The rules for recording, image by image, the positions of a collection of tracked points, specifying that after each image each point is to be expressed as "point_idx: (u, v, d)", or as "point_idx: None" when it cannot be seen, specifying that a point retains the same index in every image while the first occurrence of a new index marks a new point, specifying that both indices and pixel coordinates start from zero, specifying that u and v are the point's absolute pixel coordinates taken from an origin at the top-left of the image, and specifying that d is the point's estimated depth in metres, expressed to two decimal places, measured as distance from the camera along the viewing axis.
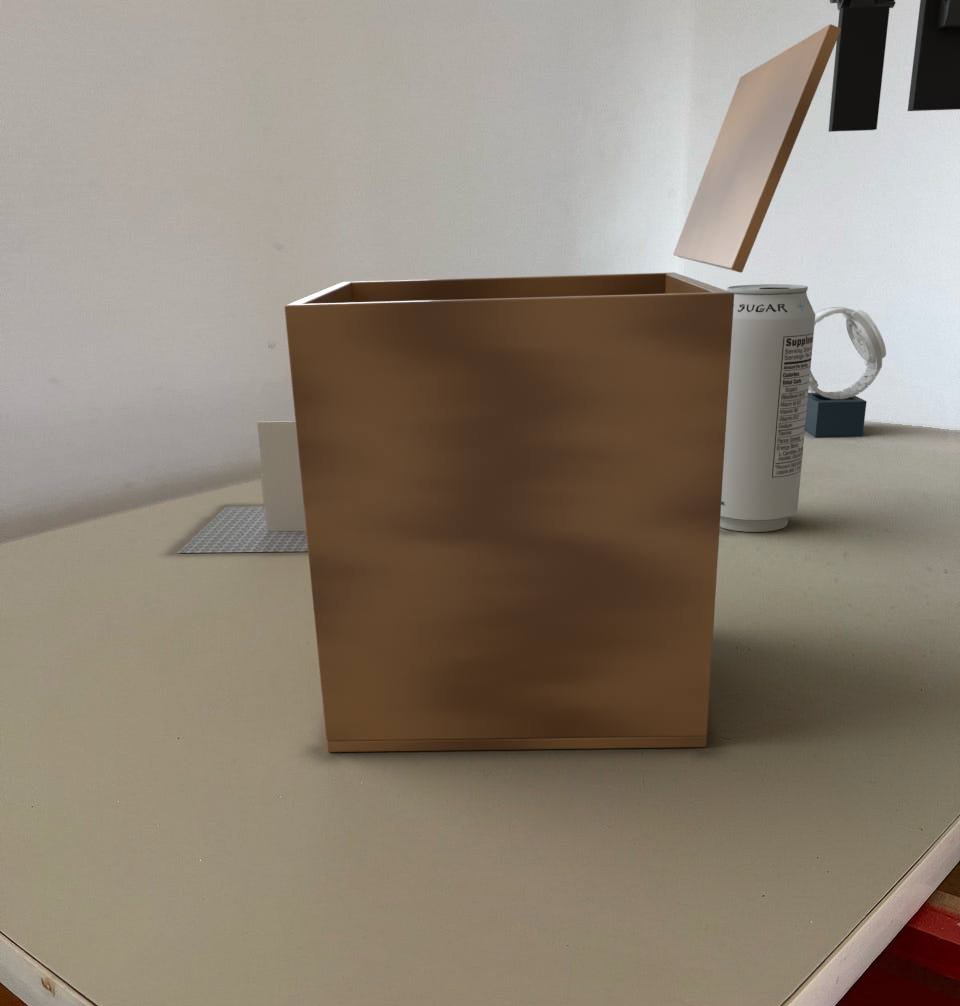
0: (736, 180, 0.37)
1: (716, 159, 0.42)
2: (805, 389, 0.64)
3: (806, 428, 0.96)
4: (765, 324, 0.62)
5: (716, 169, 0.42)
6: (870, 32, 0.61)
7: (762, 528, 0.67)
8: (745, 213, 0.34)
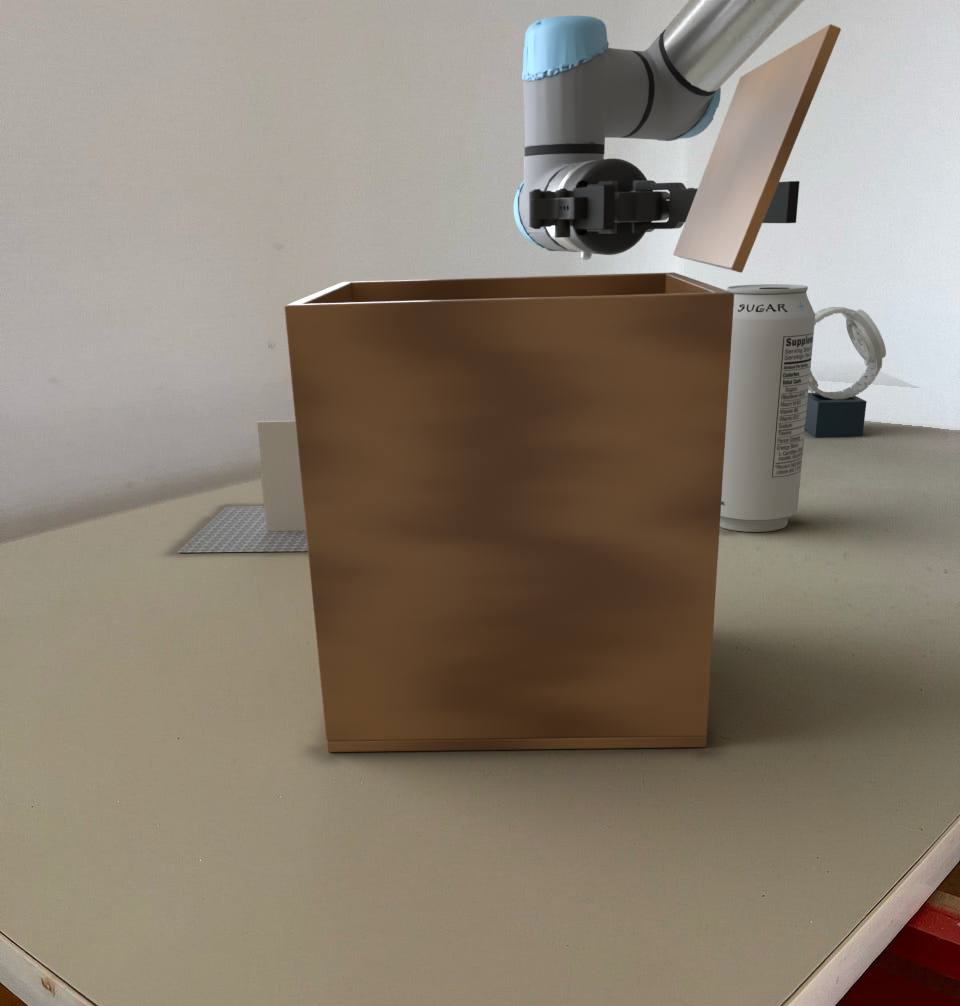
0: (736, 180, 0.37)
1: (716, 159, 0.42)
2: (805, 389, 0.64)
3: (806, 428, 0.96)
4: (765, 324, 0.62)
5: (716, 169, 0.42)
6: None
7: (762, 528, 0.67)
8: (745, 213, 0.34)
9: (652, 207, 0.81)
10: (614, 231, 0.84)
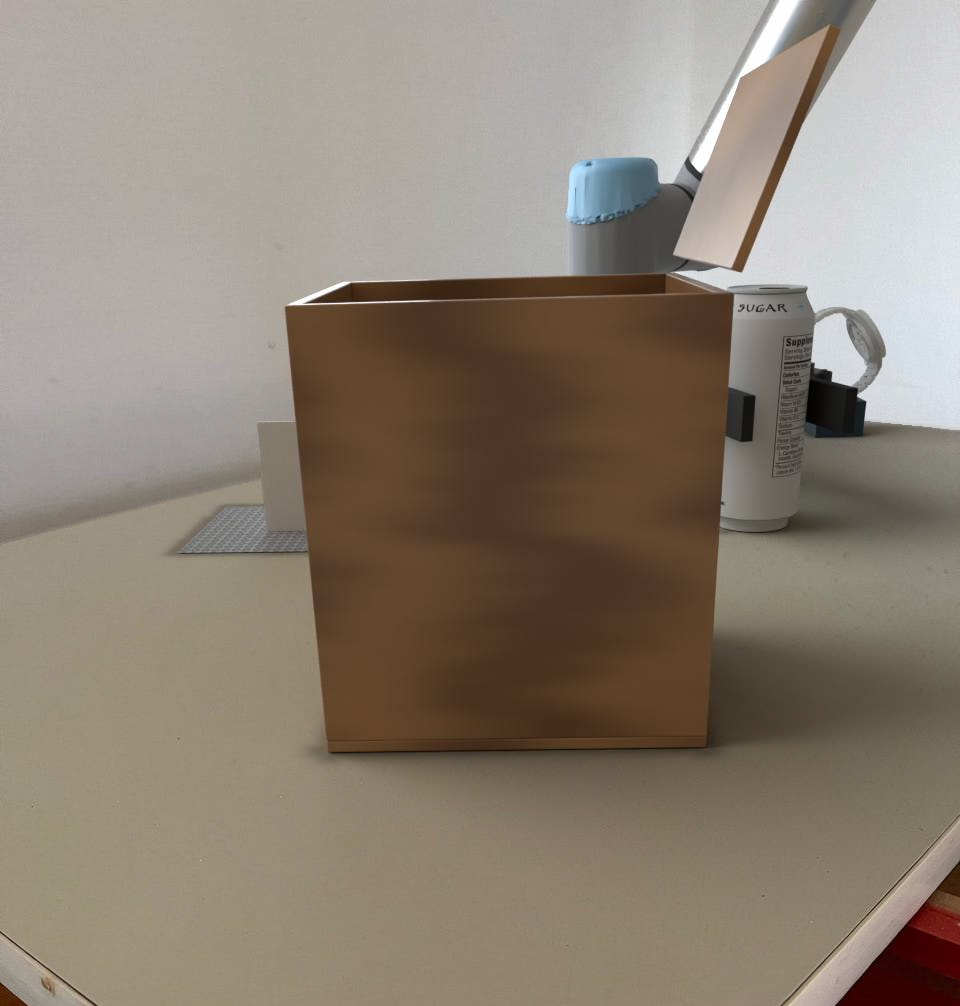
0: (736, 180, 0.37)
1: (716, 159, 0.42)
2: (805, 389, 0.64)
3: (806, 428, 0.96)
4: (765, 324, 0.62)
5: (716, 169, 0.42)
6: None
7: (762, 528, 0.67)
8: (745, 213, 0.34)
9: None
10: None
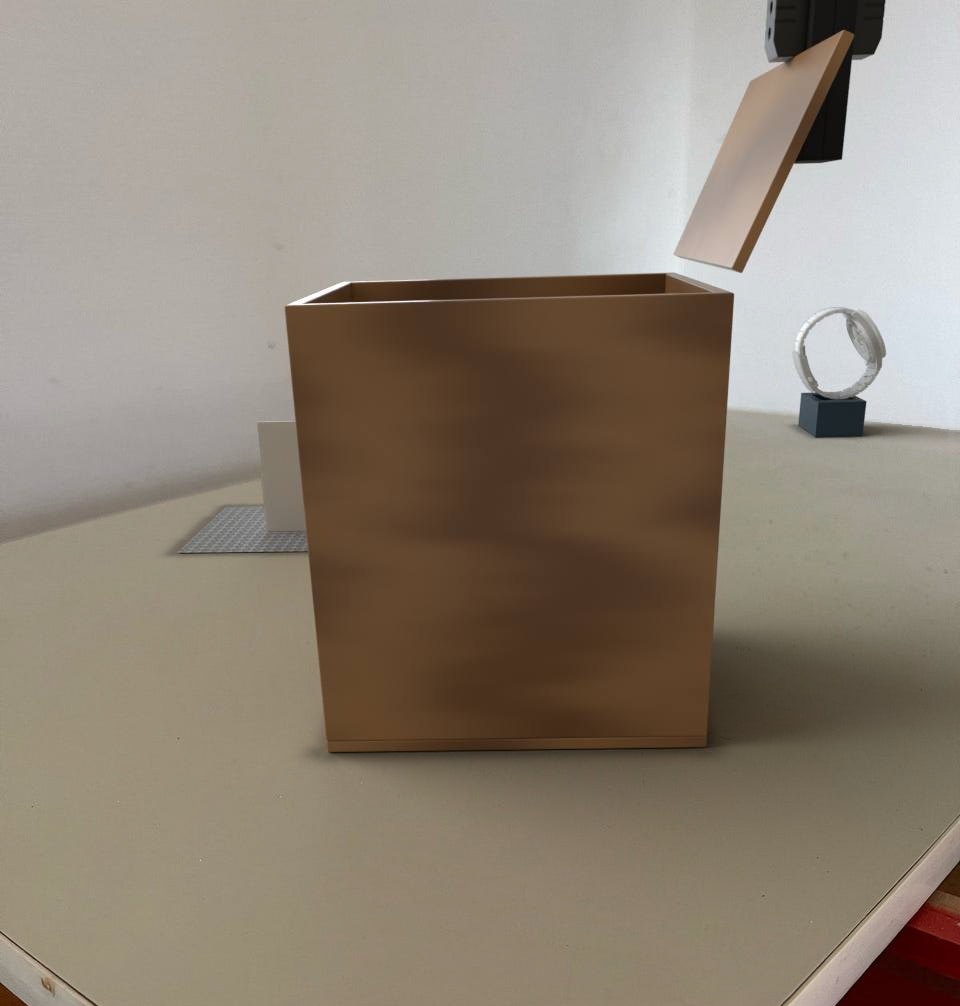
0: (741, 182, 0.37)
1: (722, 161, 0.42)
2: None
3: (806, 428, 0.96)
4: None
5: (721, 171, 0.42)
6: None
7: None
8: (748, 214, 0.34)
9: None
10: None
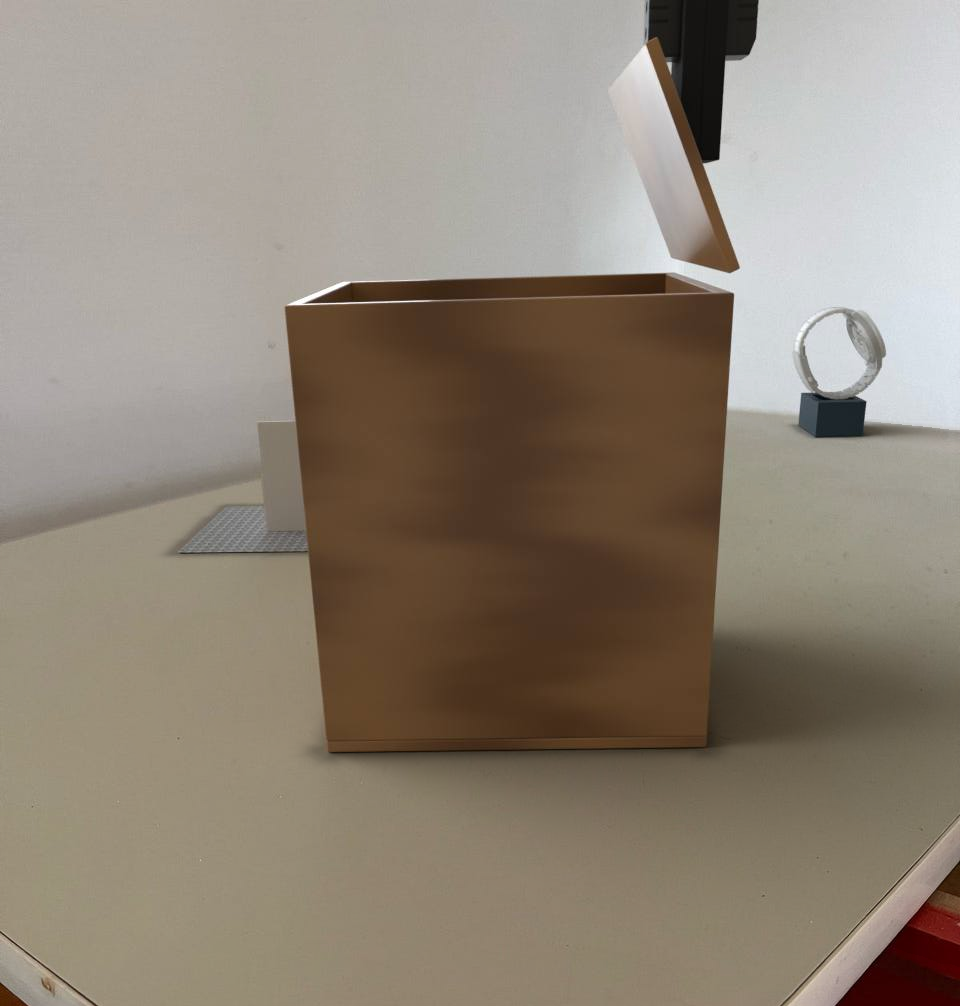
0: (673, 189, 0.37)
1: (643, 168, 0.42)
2: None
3: (806, 428, 0.96)
4: None
5: (650, 178, 0.42)
6: None
7: None
8: (703, 221, 0.34)
9: None
10: None
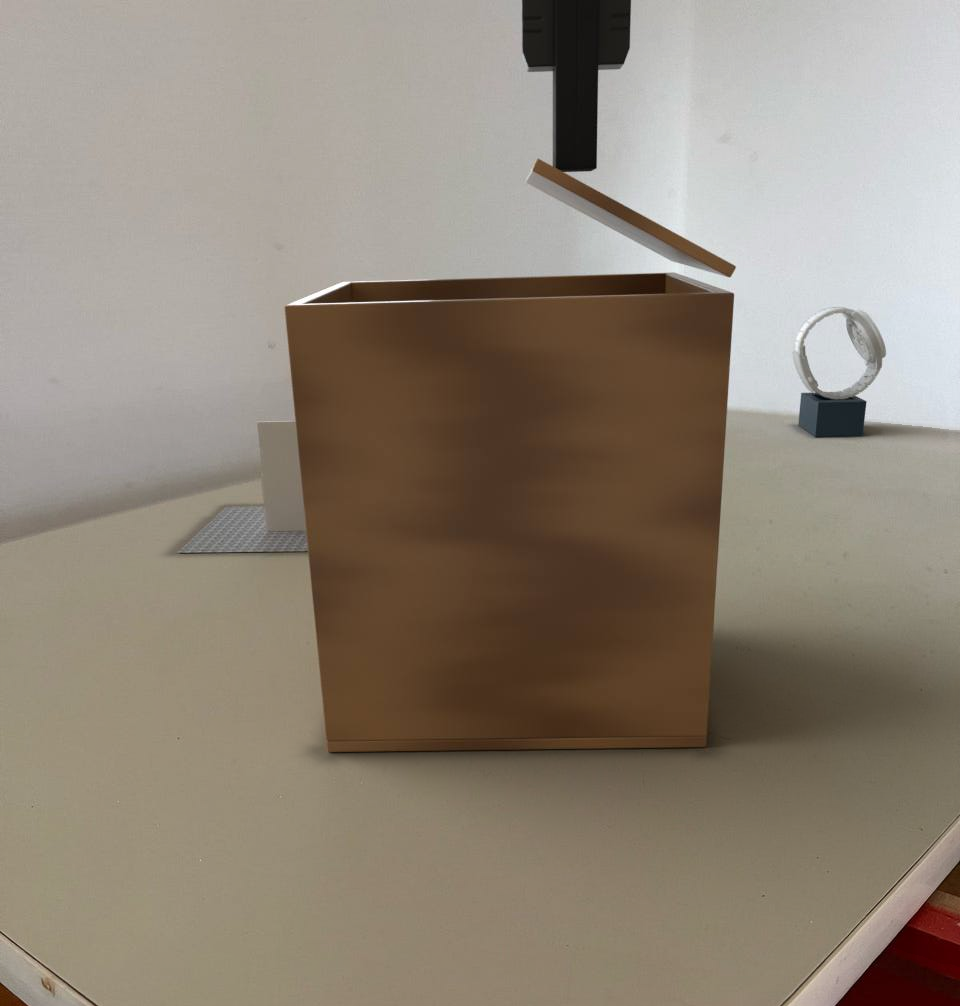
0: (634, 232, 0.38)
1: (597, 219, 0.43)
2: None
3: (806, 428, 0.96)
4: None
5: (608, 224, 0.42)
6: None
7: None
8: (678, 251, 0.35)
9: None
10: None
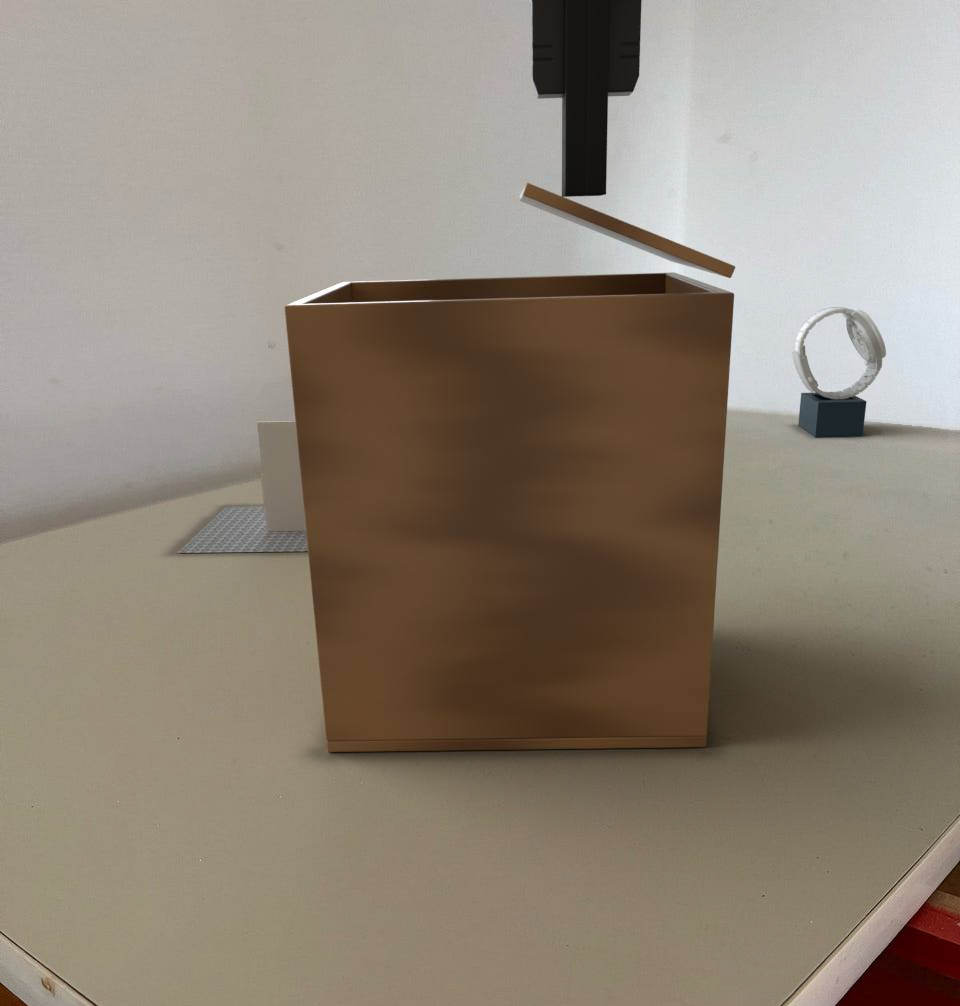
0: (631, 241, 0.38)
1: (593, 229, 0.43)
2: None
3: (806, 428, 0.96)
4: None
5: (605, 234, 0.43)
6: None
7: None
8: (676, 257, 0.35)
9: None
10: None
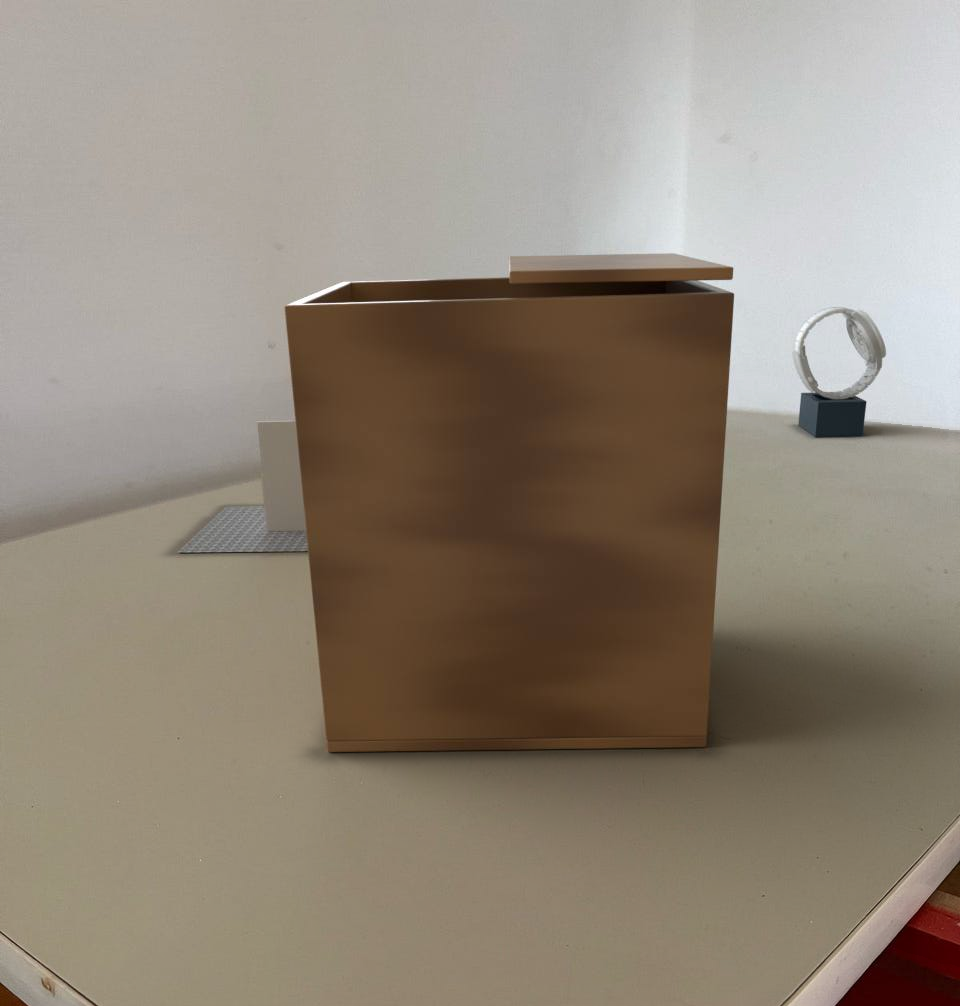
0: None
1: None
2: None
3: (806, 428, 0.96)
4: None
5: None
6: None
7: None
8: None
9: None
10: None
